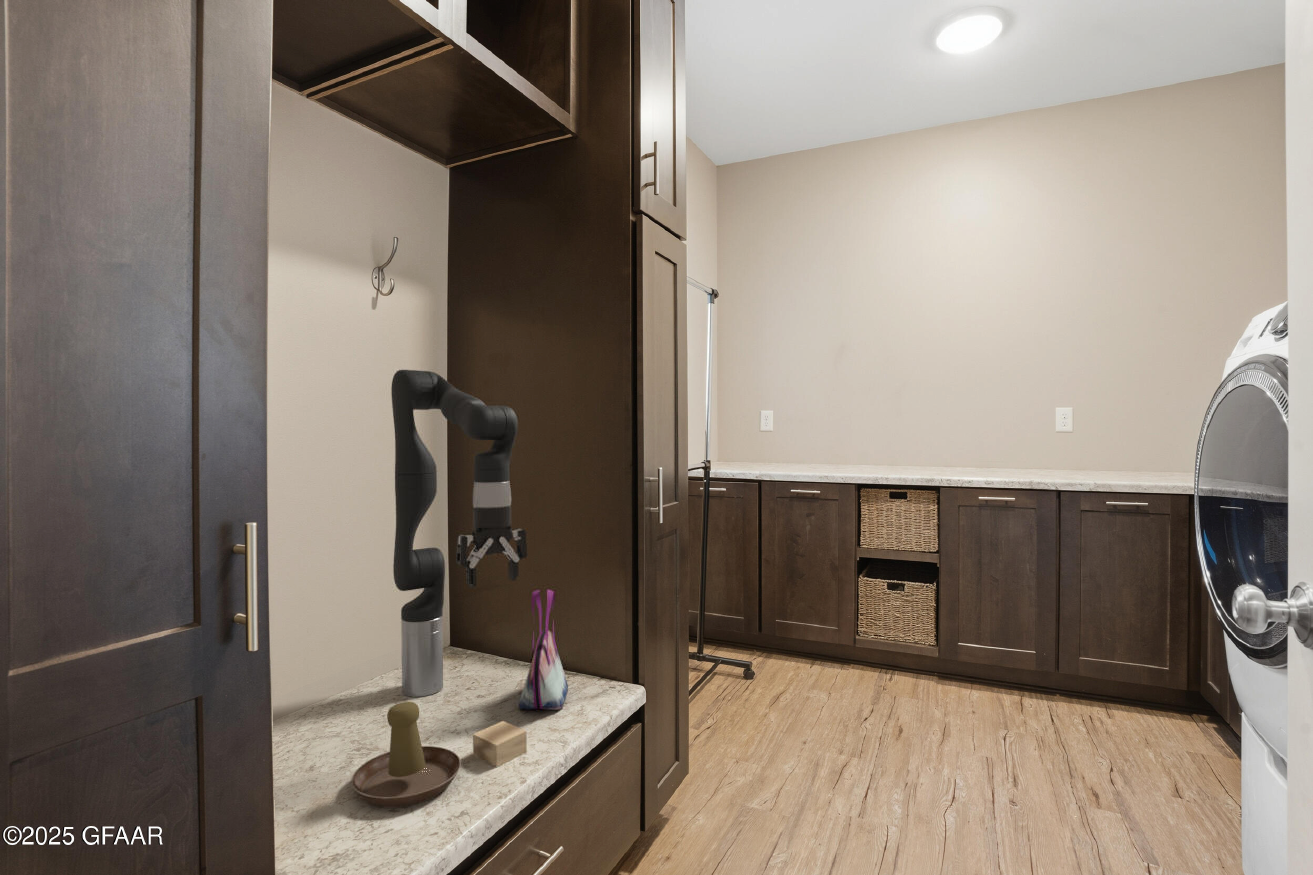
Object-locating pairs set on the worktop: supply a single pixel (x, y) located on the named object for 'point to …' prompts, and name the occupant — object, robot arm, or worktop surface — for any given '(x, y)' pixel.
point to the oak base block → (499, 743)
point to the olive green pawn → (405, 740)
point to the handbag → (544, 667)
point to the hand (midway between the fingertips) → (492, 583)
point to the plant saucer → (405, 779)
